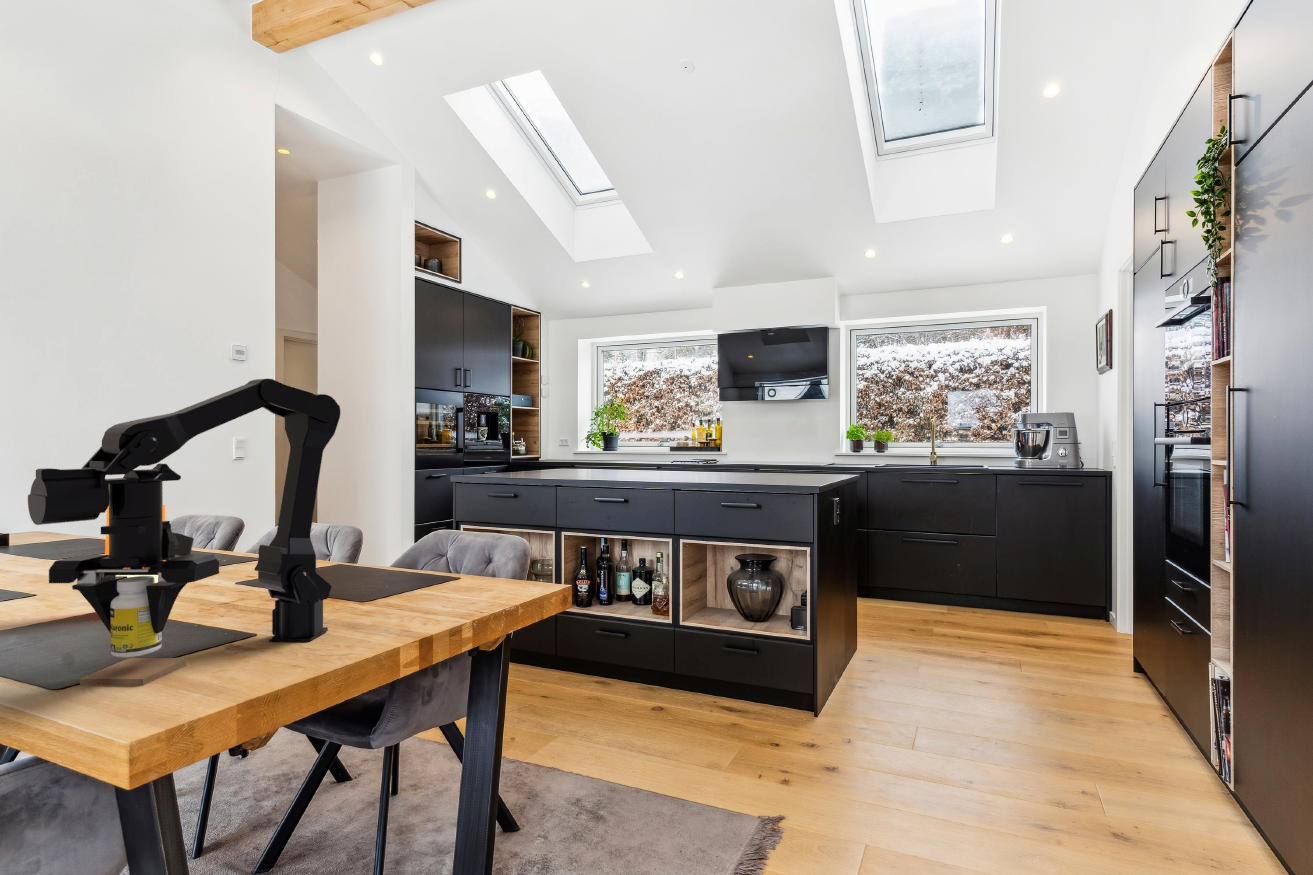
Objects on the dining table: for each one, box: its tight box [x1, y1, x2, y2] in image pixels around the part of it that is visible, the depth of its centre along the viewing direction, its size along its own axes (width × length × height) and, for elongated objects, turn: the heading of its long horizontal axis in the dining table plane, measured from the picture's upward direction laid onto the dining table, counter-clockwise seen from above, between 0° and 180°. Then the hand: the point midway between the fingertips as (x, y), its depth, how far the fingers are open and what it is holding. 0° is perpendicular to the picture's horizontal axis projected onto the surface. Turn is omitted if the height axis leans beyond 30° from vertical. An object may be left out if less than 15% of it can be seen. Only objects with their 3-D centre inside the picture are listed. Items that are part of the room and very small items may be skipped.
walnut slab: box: [79, 657, 188, 687], centre depth 89 cm, size 8×8×2 cm
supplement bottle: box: [110, 576, 163, 658], centre depth 89 cm, size 5×5×10 cm
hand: (136, 632), depth 89 cm, fingers closed on supplement bottle, 5 cm apart
